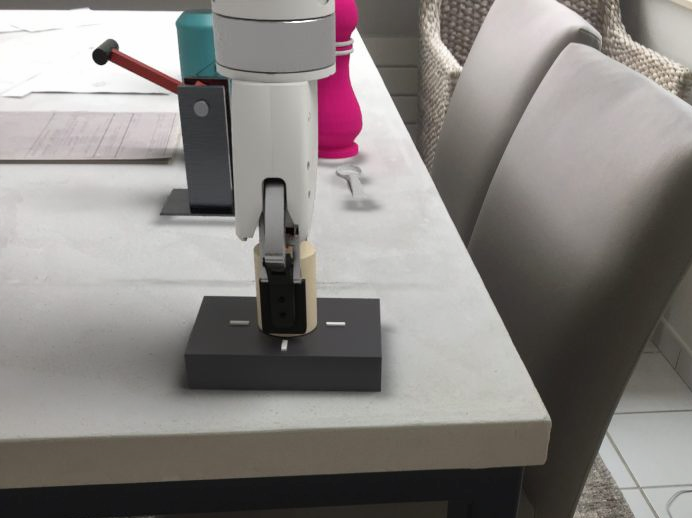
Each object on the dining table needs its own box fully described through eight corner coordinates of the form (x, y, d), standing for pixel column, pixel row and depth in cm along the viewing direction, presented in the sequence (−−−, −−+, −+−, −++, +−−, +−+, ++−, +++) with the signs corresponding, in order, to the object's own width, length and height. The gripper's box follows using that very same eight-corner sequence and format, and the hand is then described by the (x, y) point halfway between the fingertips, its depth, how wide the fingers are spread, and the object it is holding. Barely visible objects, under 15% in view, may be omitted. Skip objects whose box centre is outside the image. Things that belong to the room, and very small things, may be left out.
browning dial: (315, 337, 65) (313, 256, 62) (255, 336, 65) (249, 255, 62) (318, 311, 69) (316, 234, 65) (261, 310, 69) (256, 232, 65)
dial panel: (188, 391, 65) (183, 352, 63) (207, 330, 73) (203, 293, 71) (380, 393, 65) (382, 354, 63) (378, 332, 73) (379, 296, 71)
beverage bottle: (178, 171, 106) (156, -25, 94) (204, 156, 111) (187, -31, 99) (228, 178, 104) (212, -20, 92) (252, 162, 109) (241, -27, 97)
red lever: (88, 66, 84) (95, 40, 82) (101, 55, 88) (107, 30, 86) (211, 126, 87) (219, 102, 86) (217, 113, 91) (226, 90, 90)
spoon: (359, 174, 106) (359, 157, 105) (375, 216, 97) (375, 198, 96) (334, 175, 105) (334, 158, 104) (348, 217, 97) (348, 199, 95)
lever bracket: (161, 224, 91) (143, 89, 84) (174, 199, 98) (159, 71, 90) (259, 226, 92) (251, 92, 84) (265, 201, 98) (258, 73, 90)
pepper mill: (361, 169, 108) (363, -22, 96) (302, 167, 108) (296, -24, 96) (362, 152, 114) (364, -30, 102) (306, 150, 114) (301, -32, 102)
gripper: (232, 20, 62) (250, 271, 73) (192, 72, 49) (221, 369, 60) (339, 23, 62) (341, 273, 73) (330, 75, 49) (333, 371, 60)
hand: (287, 314), depth 67 cm, fingers closed on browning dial, 4 cm apart
